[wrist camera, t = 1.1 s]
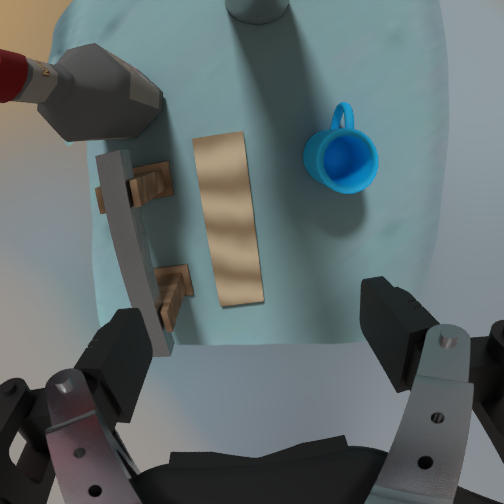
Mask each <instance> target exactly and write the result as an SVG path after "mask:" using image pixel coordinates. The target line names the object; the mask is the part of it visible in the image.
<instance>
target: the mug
mask: <svg viewBox="0 0 504 504" xmlns="http://www.w3.org/2000/svg"><path fill="white" fill-rule="evenodd" d="M343 112H344V116H345V128H340V129H339V126H340V121H341V118H342V115H343ZM303 162H304V165H305V168H306V170H307V172H308V173H309V174H310V176H311V177H312V178H314V179H315V180H317V181H318V182H320V183H321V184H323V185H325V186H327V187H329V188H330V189H332V190H334V191H336V192H340V193H343V194H354V193H357V192H359V191H362V190H364V189H365V188H366V187H367V186H369V185H370V184H371V182H372V181H373V179H374V178H375V176H376V173H377V169H378V154H377V151H376V147H375V145H374V144H373V143H372V141H371V140H370V138H369V137H367V136H366V135H365V134H364V133H362V132H361V131H358V130H355V129H354V115H353V111H352V108H351V106H350V105H349V104H348V103H345V102H341V103H340V104H338V105H337V107H336V109H335V112H334V115H333V118H332V123H331V129H330V130H323V131H321V132H318V133H316V134H314V135H313V136H312V137H311V138H310V139H309V140H308V142H307V143H306V145H305V148H304V152H303Z"/></svg>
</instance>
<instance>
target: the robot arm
mask: <svg viewBox="0 0 504 504" xmlns="http://www.w3.org/2000/svg"><path fill="white" fill-rule="evenodd" d="M288 3H289V0H225V5H226V7H227V10H228V11H229V12H230V14H231V15H233V16H234V17H235V18H237V19H239V20H240V21H243V22H246V23H251V24H264V23H269V22H272V21H274V20H276V19H278V18H279V17H280V16H281V15H282V14H283V13H284V12H285V10H286V8H287V5H288ZM360 326H361V330H362V333H363V335H364V336H365V338H366V340H367V341H368V343H369V345H370V346H371V348H372V350H373V351H374V353H375V355H376V357H377V358H378V360H379V362H380V363H381V365H382V367H383V369H384V371H385V372H386V374H387V376H388V378H389V379H390V381H391V383H392V385H393V387H394V388H395V390H396V392H397V393H400V392H403V391H406V390H410V391H411V393H410V396H409V399H408V402H407V405H406V408H405V411H404V414H403V417H402V420H401V423H400V425H399V428H398V431H397V433H396V436H395V438H394V441H393V443H392V446H391V448H390V451H389V453H388V452H385V451H382V450H379V449H375V448H369V447H362V446H348V445H347V441H346V438H345V436H344V435H341V436H337V437H332V438H327V439H322V440H317V441H311V442H306V443H301V444H298V445H296V446H293V447H290V448H287V449H284V450H281V451H278V452H275V453H272V454H269V455H266V456H263V457H259V458H250V457H242V456H235V455H228V454H222V453H216V452H171V454H170V460H169V464H164V465H160V466H157V467H154V468H151V469H148V470H146V471H144V472H142V473H140V471H139V469H138V468H137V466H136V465H135V463H134V461H133V459H132V458H131V456H130V454H129V453H128V451H127V449H126V447H125V445H124V443H123V442H122V440H121V438H120V436H119V434H118V432H117V431H116V429H115V426H116V423H117V422H121V423H130V421H131V418H132V415H133V412H134V409H135V406H136V403H137V400H138V397H139V394H140V391H141V389H142V386H143V383H144V380H145V377H146V374H147V371H148V369H149V366H150V363H151V360H152V356H153V349H152V343H151V340H150V337H149V334H148V332H147V329H146V326H145V323H144V320H143V316H142V313H141V311H140V310H139V308H126V309H118V310H117V311H116V313H115V314H114V316H113V318H112V319H111V321H110V322H109V323H107V324H105V325H104V326H103V327H102V328H100V329H99V330H98V331H97V333H96V334H95V336H94V337H93V339H92V341H91V342H90V343H89V345H88V348H86V349H85V351H84V352H83V354H82V356H81V357H80V359H79V360H78V362H77V363H76V365H75V366H74V368H72V369H71V368H70V369H64V370H61V371H59V372H57V373H56V374H54V375H53V376H52V377H51V378H50V379H49V380H48V381H47V383H46V386H45V388H41V389H35V390H30V389H29V387H28V386H27V384H26V382H25V381H24V380H23V379H21V378H12V379H9V380H7V381H6V382H4V383H3V384H1V385H0V504H46V503H47V500H48V497H49V494H50V490H51V487H52V484H53V481H54V478H55V475H56V477H57V480H58V484H59V487H60V490H61V493H62V496H63V499H64V501H65V504H503V503H500V502H497V501H495V500H492V499H489V498H487V497H484V496H481V495H479V494H476V493H474V492H471V491H469V490H467V489H464V488H462V487H459V486H458V482H459V478H460V474H461V469H462V465H463V460H464V455H465V450H466V445H467V439H468V433H469V426H470V419H471V411H472V409H473V411H474V413H475V414H476V416H477V417H478V419H479V421H480V422H481V424H482V426H483V428H484V429H485V431H486V433H487V434H488V436H489V438H490V439H491V441H492V443H493V445H494V447H495V449H496V450H497V452H498V454H499V456H500V458H501V460H502V462H503V463H504V320H500V321H497V322H495V323H494V324H493V325H492V327H491V331H490V334H489V336H486V337H473V338H470V336H469V334H468V333H467V332H466V331H465V330H464V329H462V328H461V327H458V326H456V325H451V324H440V323H439V322H438V321H437V320H436V319H435V318H434V317H433V316H432V315H431V314H430V313H429V312H428V311H427V310H426V309H425V308H424V307H422V305H421V304H420V303H419V302H418V301H416V299H415V298H414V297H413V296H412V295H411V294H410V293H409V292H407V291H405V290H403V289H401V288H399V287H393V286H392V285H391V284H390V283H389V282H388V281H387V280H386V279H385V278H384V277H383V276H380V277H374V278H368V279H363V280H362V282H361V298H360ZM17 431H18V432H19V433H20V434H21V435H22V437H23V438H24V439H25V440H26V442H27V443H26V445H25V447H24V449H23V452H22V454H21V456H20V458H19V460H18V463H17V465H16V466H15V464H14V463H13V462H12V461H11V459H10V456H9V448H10V446H11V443H12V441H13V439H14V437H15V435H16V433H17Z"/></svg>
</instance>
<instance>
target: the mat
mask: <svg viewBox="0 0 504 504" xmlns="http://www.w3.org/2000/svg"><path fill="white" fill-rule="evenodd" d="M192 141H193V148H194V155H195V162H196V169H197V175H198V182H199V188H200V194H201V201H202V207H203V213H204V219H205V225H206V231H207V236H208V242H209V248H210V254H211V259H212V265H213V270H214V275H215V281H216V286H217V291H218V297H219V302H220V306H228V305H236V304H245V303H253V302H261V301H264V297H263V289H262V281H261V273H260V264H259V256H258V248H257V240H256V232H255V224H254V216H253V208H252V200H251V192H250V184H249V176H248V168H247V160H246V152H245V145H244V137H243V131H242V132H234V133H227V134H220V135H213V136H207V137H200V138H194V139H192Z"/></svg>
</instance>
